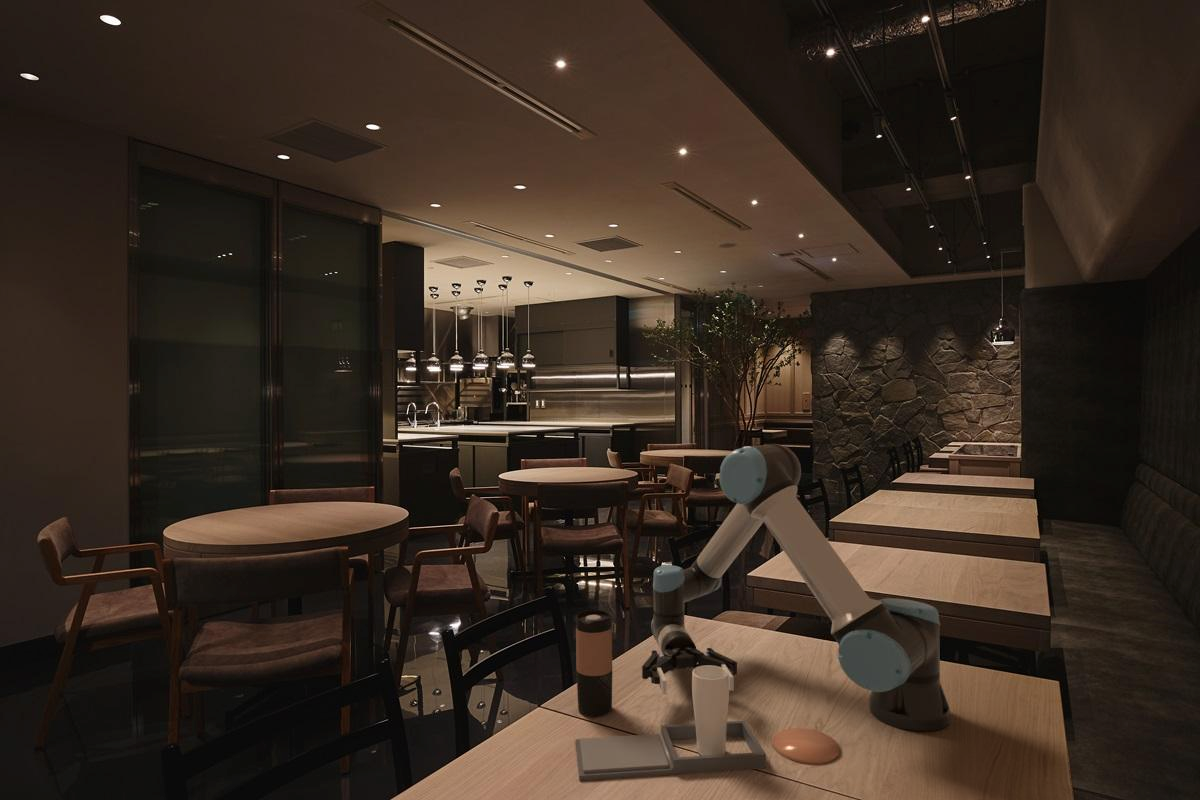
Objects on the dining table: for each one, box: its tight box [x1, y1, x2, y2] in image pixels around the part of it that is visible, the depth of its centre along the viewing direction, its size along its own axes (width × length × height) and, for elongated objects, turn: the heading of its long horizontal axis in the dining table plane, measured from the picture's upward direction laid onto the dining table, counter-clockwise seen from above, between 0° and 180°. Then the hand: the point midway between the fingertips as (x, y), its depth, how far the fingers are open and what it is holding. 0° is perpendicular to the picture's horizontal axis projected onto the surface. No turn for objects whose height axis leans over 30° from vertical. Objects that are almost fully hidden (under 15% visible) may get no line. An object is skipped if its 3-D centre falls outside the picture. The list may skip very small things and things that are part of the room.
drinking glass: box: [691, 665, 730, 756], centre depth 126 cm, size 7×7×15 cm
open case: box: [574, 720, 767, 781], centre depth 126 cm, size 33×13×2 cm, turn 95°
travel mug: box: [575, 609, 613, 718], centre depth 144 cm, size 8×8×20 cm
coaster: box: [771, 727, 840, 765], centre depth 128 cm, size 12×12×1 cm
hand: (698, 685), depth 135 cm, fingers open, 13 cm apart
